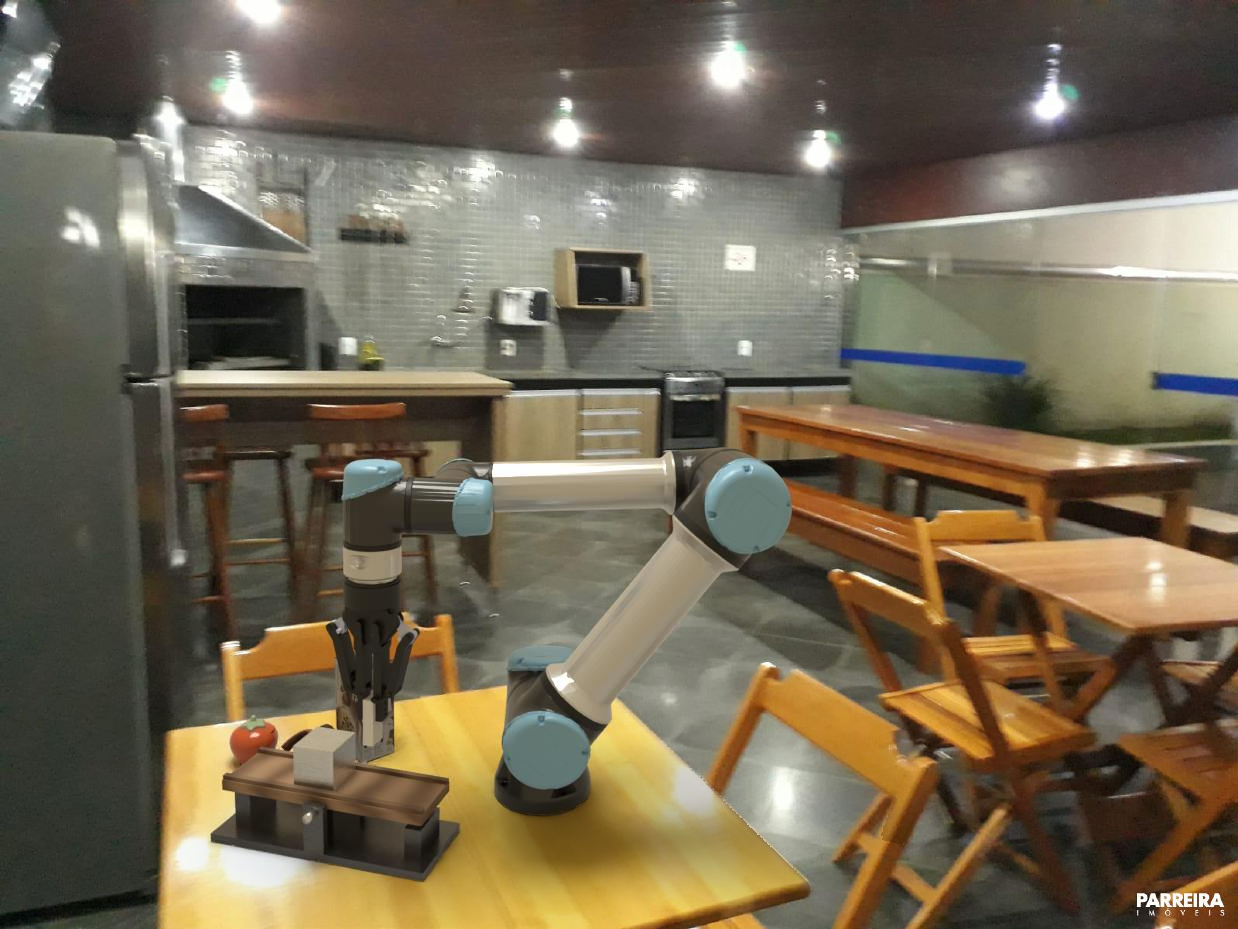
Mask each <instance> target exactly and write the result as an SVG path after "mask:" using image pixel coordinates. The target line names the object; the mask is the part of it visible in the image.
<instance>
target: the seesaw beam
mask: <svg viewBox="0 0 1238 929" xmlns="http://www.w3.org/2000/svg"><path fill="white" fill-rule="evenodd" d="M221 789H222V790H223V791H225V792H231V793H235V792H236V793H242V794H247V795H253V796H258V797H264V798H269V799H275V800H280V801H286V802H291V803H297V804H302V805H303V804H304V803H305V802H306V801H310V802H315V803H321V804H327V809H330V810H335V811H341V812H346V813H351V814H357V815H362V816H368V817H373V818H379V819H384V820H390V821H395V822H401V823H406V824H412V825H417V826H422V825H423V823H424V822H425V821H426V820H427V818H428V817H429V816H430V815H431V813H432V812H433V811H434V810H435V808H436V807H439V805H440V804H441V803H442V800H444V799H445V797H446V796H447V795H448V793H450V778H449V777H444V776H439V775H433V774H426V773H420V772H415V771H408V770H403V769H398V768H391V767H385V766H378V765H373V764H362V763H360V762H356V772H354V773H353V774H352V775H351V776H350V777H349V778H348V779H347V780H346V781H345V782H344V783H343V784H342V785H341V786H340V787H339V788H338V789H337V790H336V791H335V792H334V791H328V790H323V789H317V788H312V787H306V786H300V785H295V784H294V763H293V751H291V750H290V751H285V750H283V749H279V748H275V749H273V748H267V747H260V748H258V753H257V754H256V755H254V756H253V757H252V758H250V759H249V760H248V761H246V762H245V763H244V764H242V763H241V765H239V767H237V768H236V769H234V770H233V771H232V772H225V773H224V774H222V779H221Z"/></svg>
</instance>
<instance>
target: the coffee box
mask: <svg viewBox="0 0 1238 929" xmlns="http://www.w3.org/2000/svg"><path fill="white" fill-rule="evenodd" d="M354 655H355V659H356V652H355V650H354ZM333 658H334V689H335V690H334V691H335V692H334V693H335V720H336V724H335V725H336V730H343V731H350V732H355V757H356V760H358V761H359V763H360V762H361V761H366V762H367V763H368V762H370V761H373V760H376V759H379V758H381V757H384V756H387V755H390V754H392V753H395V696H394V697H393V698H388V716H387V718H386V719H385V720H384V721H383V738H382V739H381V740H380V741H378V742H377V743H376V744H375V745H374V746H373V747H372V746H366V745H363V719H359V718H358V703H357V697H356V695H355V694H354V693H352V692H346V691H345V690H344V688H343V684H342V679H341V675H340V671H339V666H338V662H337V658H336V656H334V657H333ZM392 664H393V660H391V659H390V672H391V668H392ZM372 692H373V690H372V691H371V693H372Z"/></svg>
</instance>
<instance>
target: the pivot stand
mask: <svg viewBox="0 0 1238 929" xmlns="http://www.w3.org/2000/svg"><path fill="white" fill-rule="evenodd" d="M359 763H362V764H368V762H366V761H361V762H360V761H359ZM368 765H369V764H368ZM234 808H235V809H234V810H235V812H234V813H233V814H232V815H231V816H230V817H229V818H228V819H227V820H225V821H223V822H222V824H220V825H219V826H218V827H216V829H214V830H213V831H212V832H211V833H210V842H211V843H217V844H222V845H227V846H232V845H234V847H238V848H244V849H249V850H253V851H254V850H255V851H260V852H264V853H270V854H275V855H280V856H285V857H291V858H297V859H300V860H307V861H312V862H316V863H323V864H328V865H332V866H337V867H344V868H348V869H354V870H360V871H363V872H364V871H365V872H369V873H375V874H380V875H386V876H391V877H395V878H401V879H406V880H407V879H408V880H412V881H418V882H422V883H424V882H425V880H426V878H427V877H428V876H429V874H430V873H431V871H432V870H433V869H434V868H435V866H436V865H437V863H438V861H439V860H440V859H441V857H443V855H444V853H445V852H446V851H447V849H448V848H449V847H450V845H451V844H452V843H453V841H454V840H455V838H456V837H457V836H458V834H459V833H460V831H461V823H460V822H455V821H450V820H443V819H441V818H440V815H441V814H440V811H441V810H440V807H439V806H437V807H436V808H435V810H434V811H433V812H432V813H431V815H430V816H429V817H428V818H427V820H426V821H425V822H424V823H423V825H422V826H417V825H412V824H406V823H401V822H395V821H390V820H384V819H379V818H373V817H368V816H362V815H357V814H351V813H346V812H341V811H335V810H330V809H327V804H321V803H315V802H310V801H306V802H305V803H304V804H303V805H302V804H297V803H291V802H286V801H280V800H275V799H269V798H264V797H258V796H253V795H247V794H242V793H236V792H234Z"/></svg>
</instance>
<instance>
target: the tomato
mask: <svg viewBox="0 0 1238 929" xmlns="http://www.w3.org/2000/svg"><path fill="white" fill-rule="evenodd" d="M278 741H279V731H278V729H277V728H276V726H275V725H273V724H272V723H271V722H269V721H266V719H264V718H258V717H257V715H256V714H252V715H251V716H250V718H249V719H247V720H246V721H244V722H243V723H241V724H240V725H238V726H237V727H236V728H235V729H234V730H233V731H232V732H231V735H230V737H229V748H230V750H231V753H232V755H233V756H234V758H235V759H236V760H237V761H238V762H239V763H241V765H242V764H244V763H245V762H246V761H248V760H249V759H250V758H252V757H253V756H254V755H256V754H257V753H258V748H260V747H267V748H273V749H277V746H278Z"/></svg>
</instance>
